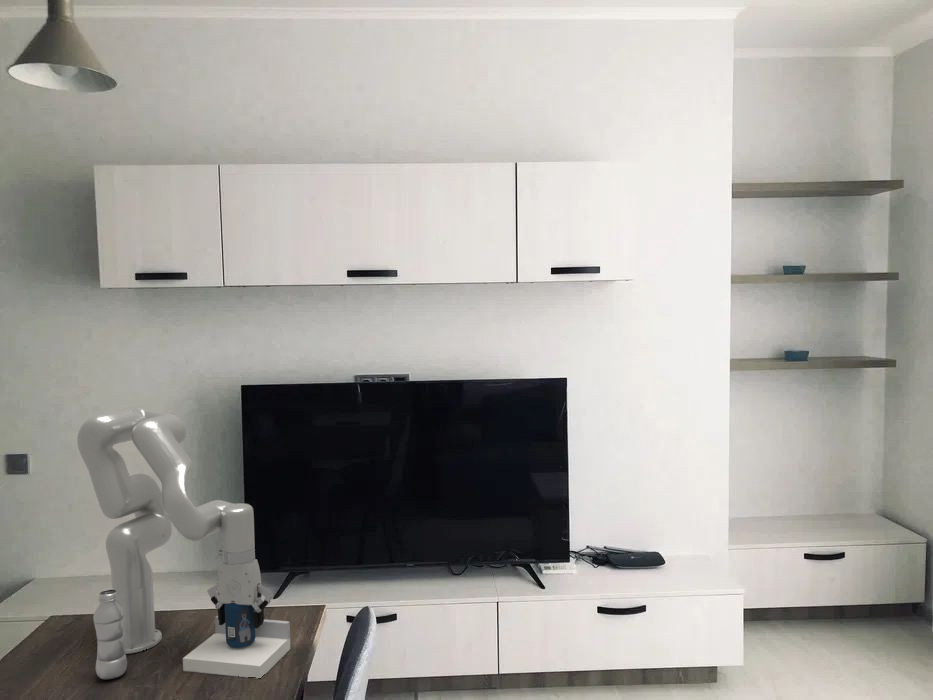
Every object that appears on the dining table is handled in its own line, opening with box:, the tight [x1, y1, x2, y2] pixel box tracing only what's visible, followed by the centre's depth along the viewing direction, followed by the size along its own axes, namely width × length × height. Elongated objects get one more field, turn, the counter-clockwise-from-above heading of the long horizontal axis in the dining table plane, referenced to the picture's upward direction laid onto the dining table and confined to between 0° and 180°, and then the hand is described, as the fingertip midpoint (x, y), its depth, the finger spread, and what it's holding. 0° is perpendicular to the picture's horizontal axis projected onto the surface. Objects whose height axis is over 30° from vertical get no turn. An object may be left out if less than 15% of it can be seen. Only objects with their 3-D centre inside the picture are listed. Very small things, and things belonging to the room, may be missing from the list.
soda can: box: [225, 601, 256, 649], centre depth 176 cm, size 7×7×12 cm
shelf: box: [182, 615, 291, 679], centre depth 175 cm, size 20×15×7 cm
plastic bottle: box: [92, 588, 128, 680], centre depth 167 cm, size 6×7×20 cm
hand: (241, 624), depth 176 cm, fingers open, 9 cm apart
